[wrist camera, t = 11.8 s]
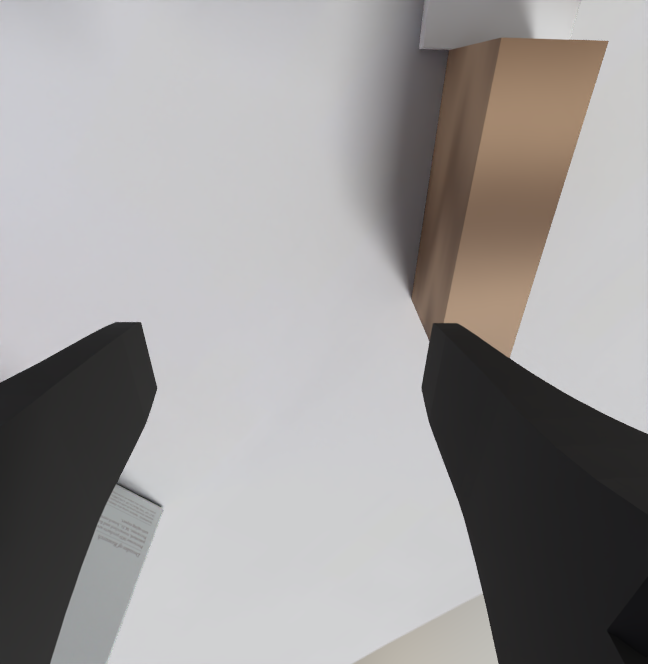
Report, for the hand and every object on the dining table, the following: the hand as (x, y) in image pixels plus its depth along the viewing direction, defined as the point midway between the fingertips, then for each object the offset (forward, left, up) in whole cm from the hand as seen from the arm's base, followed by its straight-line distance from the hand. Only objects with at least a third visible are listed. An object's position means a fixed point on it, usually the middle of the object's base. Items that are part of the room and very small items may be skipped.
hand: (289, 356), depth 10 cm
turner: (+5, -7, -9) cm, 13 cm away
